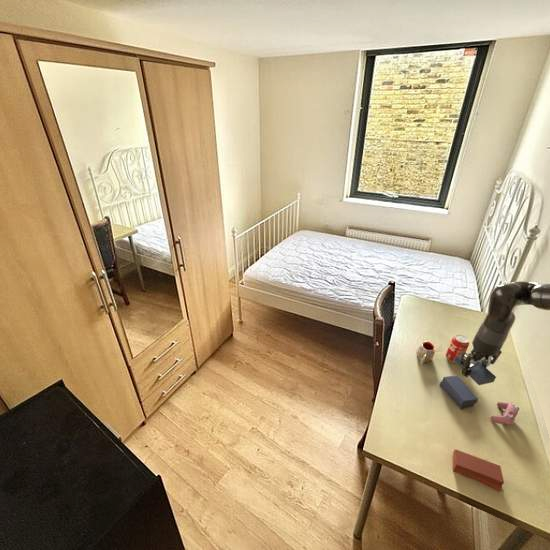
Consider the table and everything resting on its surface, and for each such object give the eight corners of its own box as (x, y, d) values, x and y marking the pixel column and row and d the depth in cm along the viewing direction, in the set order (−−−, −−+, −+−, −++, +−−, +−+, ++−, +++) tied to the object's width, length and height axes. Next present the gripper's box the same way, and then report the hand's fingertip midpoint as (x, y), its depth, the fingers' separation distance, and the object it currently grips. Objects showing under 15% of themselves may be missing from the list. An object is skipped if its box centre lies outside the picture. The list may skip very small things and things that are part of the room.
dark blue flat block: (493, 382, 98) (496, 376, 96) (478, 385, 96) (481, 380, 95) (467, 358, 107) (469, 353, 106) (453, 361, 106) (456, 356, 104)
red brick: (496, 473, 88) (502, 466, 86) (499, 492, 84) (505, 485, 82) (450, 454, 93) (454, 447, 91) (451, 471, 89) (455, 464, 87)
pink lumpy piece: (499, 429, 102) (517, 425, 97) (488, 418, 104) (505, 412, 99) (506, 412, 108) (524, 407, 103) (496, 402, 110) (512, 396, 105)
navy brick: (475, 407, 108) (480, 398, 106) (460, 410, 107) (464, 402, 104) (452, 382, 118) (456, 374, 115) (438, 385, 116) (441, 377, 114)
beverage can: (449, 352, 133) (457, 331, 127) (463, 360, 129) (473, 339, 123) (442, 357, 130) (450, 337, 124) (456, 366, 125) (466, 345, 120)
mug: (418, 349, 134) (422, 338, 131) (434, 355, 131) (438, 344, 128) (410, 364, 126) (414, 352, 123) (427, 372, 123) (431, 360, 119)
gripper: (481, 348, 89) (463, 385, 97) (518, 341, 92) (497, 378, 101) (462, 332, 95) (446, 368, 104) (497, 326, 99) (479, 362, 107)
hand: (471, 373), depth 102 cm, fingers closed on dark blue flat block, 6 cm apart
